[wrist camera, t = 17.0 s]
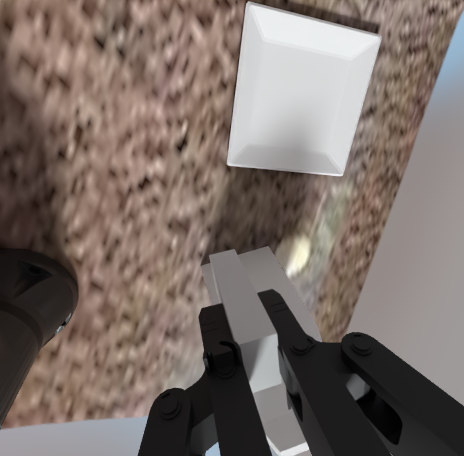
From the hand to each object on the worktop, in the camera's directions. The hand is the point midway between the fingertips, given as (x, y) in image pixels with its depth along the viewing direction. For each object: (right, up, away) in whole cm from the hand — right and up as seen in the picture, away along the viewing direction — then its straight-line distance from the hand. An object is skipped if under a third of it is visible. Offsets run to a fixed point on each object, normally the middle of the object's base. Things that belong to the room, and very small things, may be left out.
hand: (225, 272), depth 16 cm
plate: (+9, +20, +23) cm, 32 cm away
